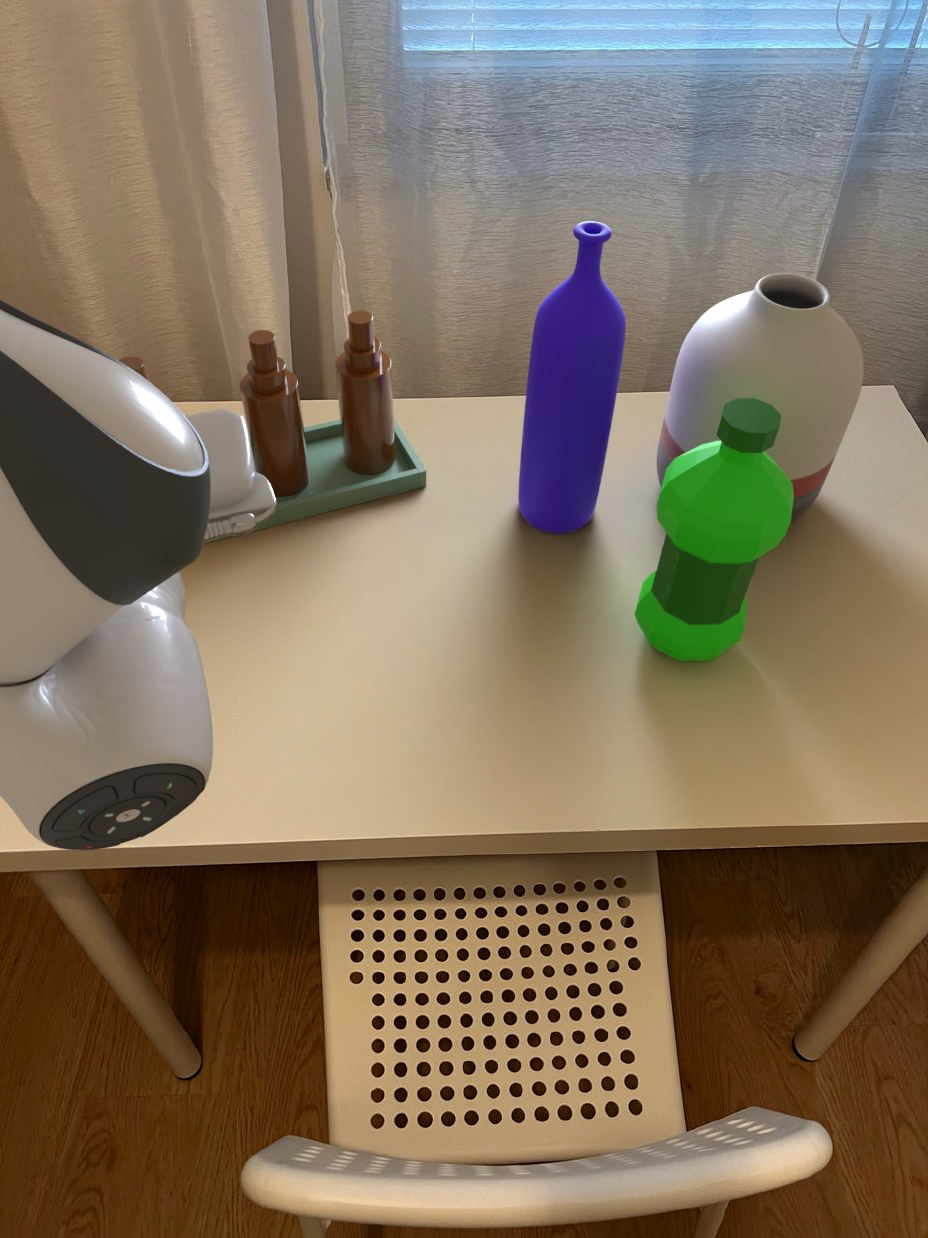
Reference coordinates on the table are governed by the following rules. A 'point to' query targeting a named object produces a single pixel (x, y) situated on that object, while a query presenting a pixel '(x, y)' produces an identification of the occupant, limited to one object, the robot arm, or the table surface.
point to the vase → (769, 378)
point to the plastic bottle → (715, 534)
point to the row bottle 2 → (365, 399)
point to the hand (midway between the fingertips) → (68, 413)
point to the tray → (344, 477)
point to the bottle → (571, 393)
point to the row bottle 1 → (274, 417)
